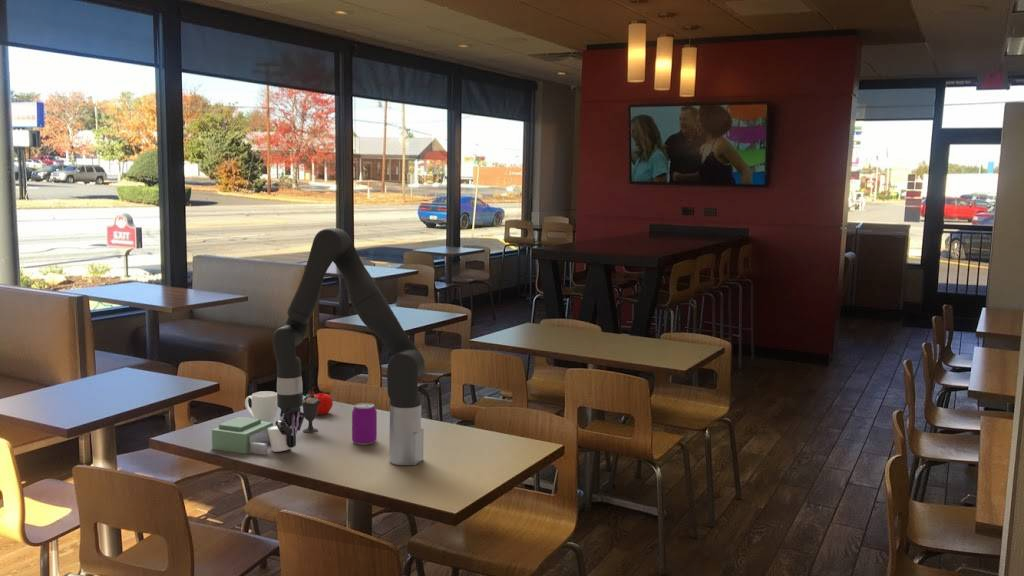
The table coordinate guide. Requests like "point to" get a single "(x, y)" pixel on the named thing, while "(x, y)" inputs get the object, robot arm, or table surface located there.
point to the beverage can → (364, 424)
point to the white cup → (277, 439)
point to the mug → (263, 405)
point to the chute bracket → (259, 442)
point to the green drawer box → (236, 434)
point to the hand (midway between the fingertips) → (291, 446)
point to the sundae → (310, 410)
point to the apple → (324, 403)
